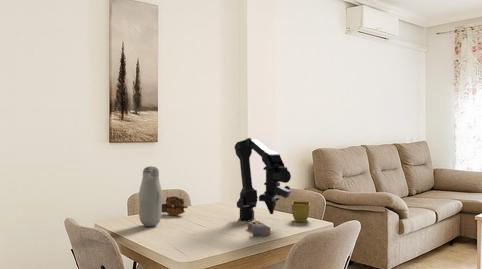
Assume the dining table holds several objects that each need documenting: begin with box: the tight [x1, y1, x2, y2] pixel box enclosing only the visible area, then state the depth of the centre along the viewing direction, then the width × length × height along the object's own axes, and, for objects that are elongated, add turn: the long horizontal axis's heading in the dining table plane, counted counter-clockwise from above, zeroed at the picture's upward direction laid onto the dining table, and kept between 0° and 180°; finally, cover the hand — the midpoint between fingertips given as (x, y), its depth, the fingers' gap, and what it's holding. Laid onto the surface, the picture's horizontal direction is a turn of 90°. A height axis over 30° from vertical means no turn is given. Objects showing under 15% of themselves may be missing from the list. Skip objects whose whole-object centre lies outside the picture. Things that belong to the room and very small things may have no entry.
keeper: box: [252, 223, 267, 238], centre depth 175 cm, size 4×6×4 cm
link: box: [247, 221, 271, 236], centre depth 181 cm, size 13×5×3 cm, turn 23°
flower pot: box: [291, 200, 311, 223], centre depth 204 cm, size 9×9×9 cm
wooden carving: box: [162, 195, 189, 216], centre depth 217 cm, size 16×5×10 cm, turn 72°
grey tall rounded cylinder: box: [138, 165, 163, 227], centre depth 192 cm, size 10×10×28 cm
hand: (271, 214), depth 188 cm, fingers closed
